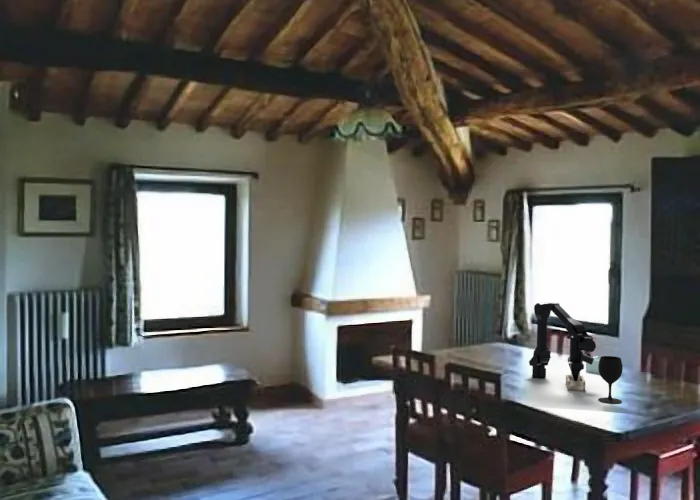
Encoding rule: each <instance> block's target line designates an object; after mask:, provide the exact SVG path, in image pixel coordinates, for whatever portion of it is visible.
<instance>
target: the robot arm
mask: <svg viewBox="0 0 700 500" xmlns="http://www.w3.org/2000/svg"><path fill="white" fill-rule="evenodd" d="M533 311H534V316H535V318H536V320H537V321H536V323H537V325H536V327H537V328H536V348H535V349H534V350H533V353H532V357H531V359H530V360H529V361H528V363H529V366H531V368H532V373H531V376H532V377H533V379H546V377H547V368H546V366H548V365H549V362H550V360H551V358H552V357H551V353H552V352H551V350H550V349H548V347H547V345H548V344H547V339H548V335H547V334H548V319H549V318H550V316H551V313H553V314H554V315H555V316H556V317H557V318H558V319H559V320H560V321H561V322H562V323H563V325H564V326H565V329H566V331H567V333H568V334H569V335H568V336H566V339H567V340H568V339H569V349H568V350H569V356H568V357H567V363H568V366H569V369H570V373H571V372H572V375H573V378H574V380H575V381H577V380H578V376H579V372H580V373H581V371H582V370H585V364H584V363H586V362H587V363H589V364H591V365H592V363H593V361H594V358H593V357H594V356H591V355H592V354H591V353H592V352H594V351H595V350H596V347H597V344H596V342H595V340H594V339H593V337H590V335H589V334H588V333H587V331H586V330H587V329H585V326H584V324H583V323H581V322H580V321H578V320H576V319H574V318H573V317H571V315H570V314H568V312H567V311H566V310H565V309H564V308H563V307H562V306H561V305H560V303H559V302H554V301H553V302H537V303H535V305H534V306H533ZM583 351H584V352H586V353H584V352H583ZM589 352H590V353H589Z"/></svg>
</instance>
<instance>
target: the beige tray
mask: <svg viewBox="0 0 700 500" xmlns="http://www.w3.org/2000/svg"><path fill="white" fill-rule="evenodd" d="M565 385H566V388H567V390H568V391H576V392H577V391H578V392H586V380H585V378H584V376H583V375H580V381H571V374H565Z"/></svg>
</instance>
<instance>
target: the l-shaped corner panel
mask: <svg viewBox="0 0 700 500" xmlns="http://www.w3.org/2000/svg"><path fill="white" fill-rule="evenodd" d="M592 357H593V358H594V361H593V363H592V365H591V364H589V363H587V362H585V372H589V373H595V374H599V370H598V365H599V360H600V358H599V356H598V355H597V356H592Z"/></svg>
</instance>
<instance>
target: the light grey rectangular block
mask: <svg viewBox="0 0 700 500" xmlns="http://www.w3.org/2000/svg"><path fill="white" fill-rule="evenodd" d="M570 375H571V381H575V380H574V378H573V375H572V372H571V371H570ZM580 376H581V371H580V372H579V376H578V380H577V381H580Z"/></svg>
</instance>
